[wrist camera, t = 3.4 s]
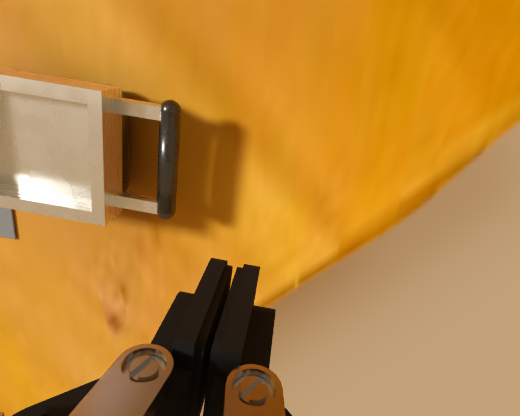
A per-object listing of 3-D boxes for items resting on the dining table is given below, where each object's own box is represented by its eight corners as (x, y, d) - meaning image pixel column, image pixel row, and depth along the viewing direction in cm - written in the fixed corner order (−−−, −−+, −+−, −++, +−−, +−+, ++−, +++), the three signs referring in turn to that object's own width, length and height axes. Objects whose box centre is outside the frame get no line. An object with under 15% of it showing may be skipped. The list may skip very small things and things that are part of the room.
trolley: (195, 92, 24) (169, 102, 19) (187, 205, 27) (163, 236, 23) (7, 61, 25) (-61, 64, 20) (20, 176, 28) (-35, 200, 23)
